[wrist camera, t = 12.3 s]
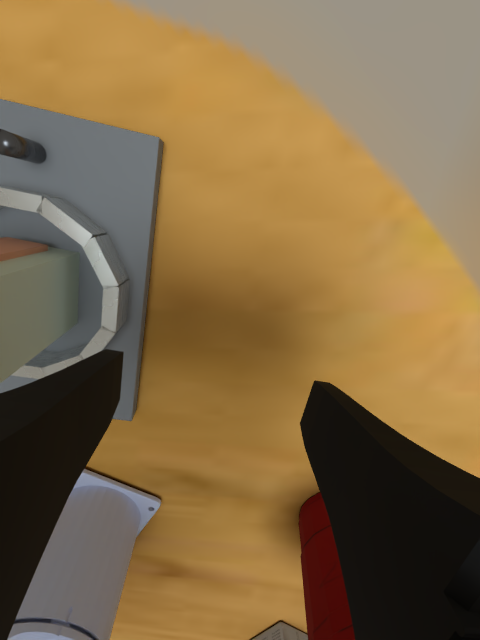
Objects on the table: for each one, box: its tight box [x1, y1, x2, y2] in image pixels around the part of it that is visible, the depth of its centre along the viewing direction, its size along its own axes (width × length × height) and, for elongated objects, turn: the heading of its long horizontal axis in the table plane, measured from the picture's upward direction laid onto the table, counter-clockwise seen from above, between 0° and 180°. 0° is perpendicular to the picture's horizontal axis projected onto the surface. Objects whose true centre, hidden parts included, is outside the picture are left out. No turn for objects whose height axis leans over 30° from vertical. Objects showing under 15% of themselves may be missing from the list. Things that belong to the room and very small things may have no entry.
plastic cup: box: [299, 493, 355, 640], centre depth 22 cm, size 11×11×12 cm
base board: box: [0, 99, 163, 421], centre depth 18 cm, size 18×12×1 cm, turn 168°
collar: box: [0, 129, 130, 379], centre depth 16 cm, size 13×10×2 cm
